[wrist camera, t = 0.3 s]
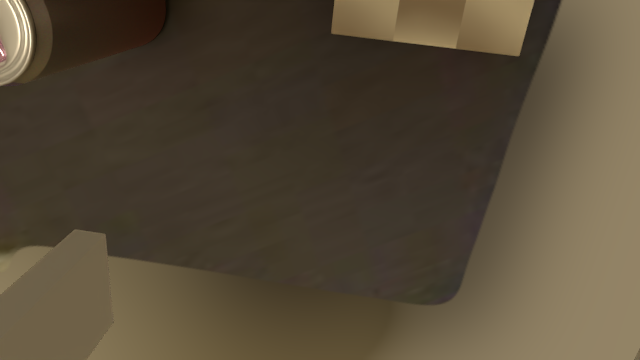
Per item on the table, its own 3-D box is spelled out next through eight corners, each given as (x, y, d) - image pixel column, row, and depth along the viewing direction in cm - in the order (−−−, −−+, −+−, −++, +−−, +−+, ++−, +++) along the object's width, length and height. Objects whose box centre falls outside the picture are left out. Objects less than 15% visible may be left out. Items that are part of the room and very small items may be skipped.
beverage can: (113, 55, 36) (-45, 106, 22) (75, -27, 34) (-126, -26, 20) (182, 31, 35) (61, 70, 21) (148, -55, 32) (-14, -74, 19)
